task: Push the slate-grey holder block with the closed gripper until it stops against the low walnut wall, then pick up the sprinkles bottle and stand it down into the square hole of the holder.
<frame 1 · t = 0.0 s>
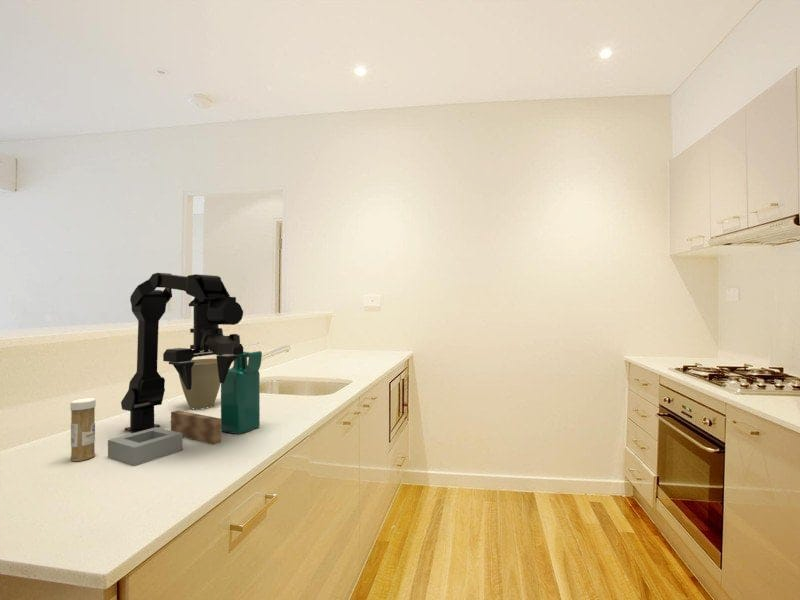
hand: (206, 386, 100), 15 cm above the table, tool pointing down, fingers open, 9 cm apart
holder block: (146, 453, 94), on the table
plant pot: (201, 407, 138), on the table
pitcher: (242, 430, 112), on the table
sprinkles bottle: (82, 459, 91), on the table
walnut wall: (195, 437, 105), on the table
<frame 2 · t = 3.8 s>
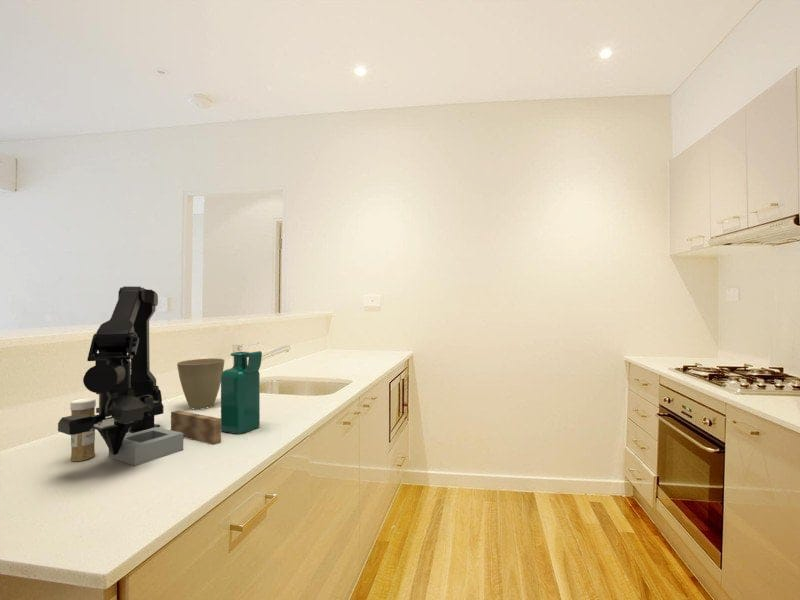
hand: (114, 454, 88), 2 cm above the table, tool pointing down, fingers closed
holder block: (146, 453, 94), on the table, touching gripper
everything else where it was.
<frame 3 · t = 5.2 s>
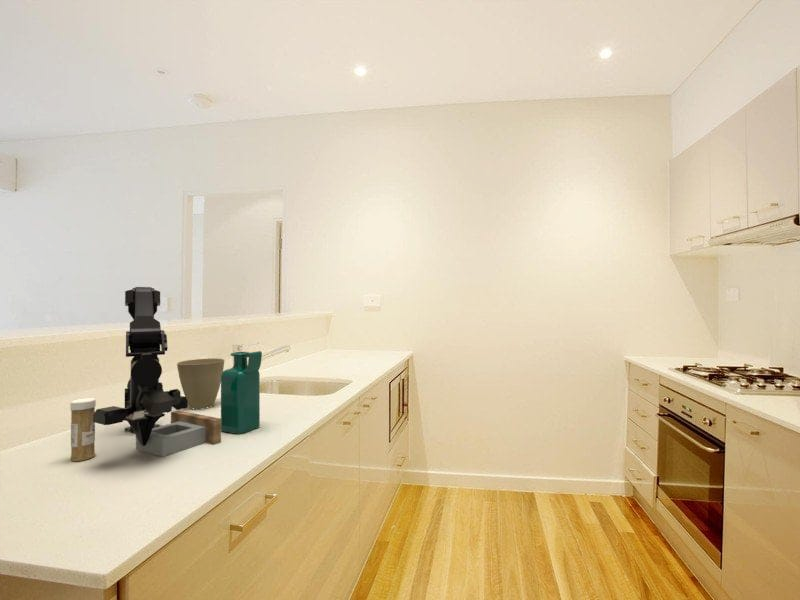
hand: (143, 445, 93), 2 cm above the table, tool pointing down, fingers closed
holder block: (171, 445, 99), on the table, touching gripper, walnut wall
everything else where it was.
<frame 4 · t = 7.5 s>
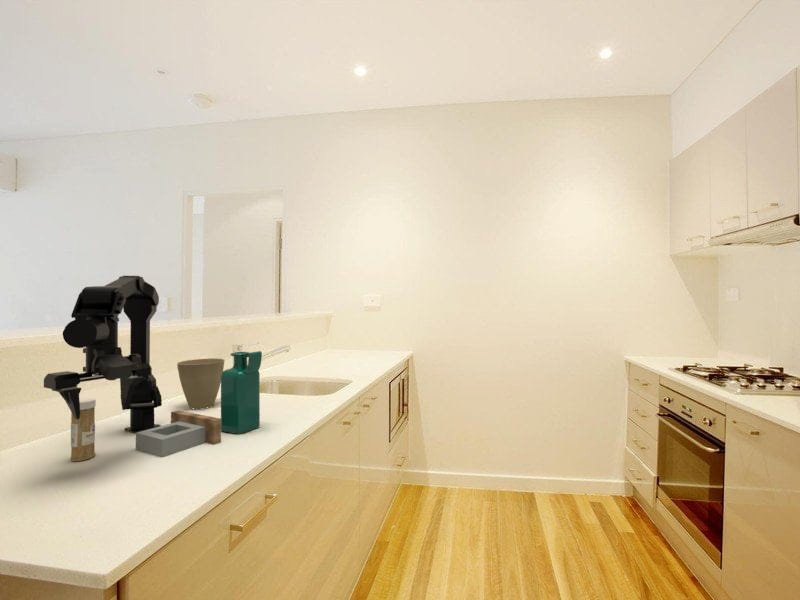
hand: (101, 413, 88), 11 cm above the table, tool pointing down, fingers open, 9 cm apart
holder block: (171, 445, 99), on the table
everything else where it was.
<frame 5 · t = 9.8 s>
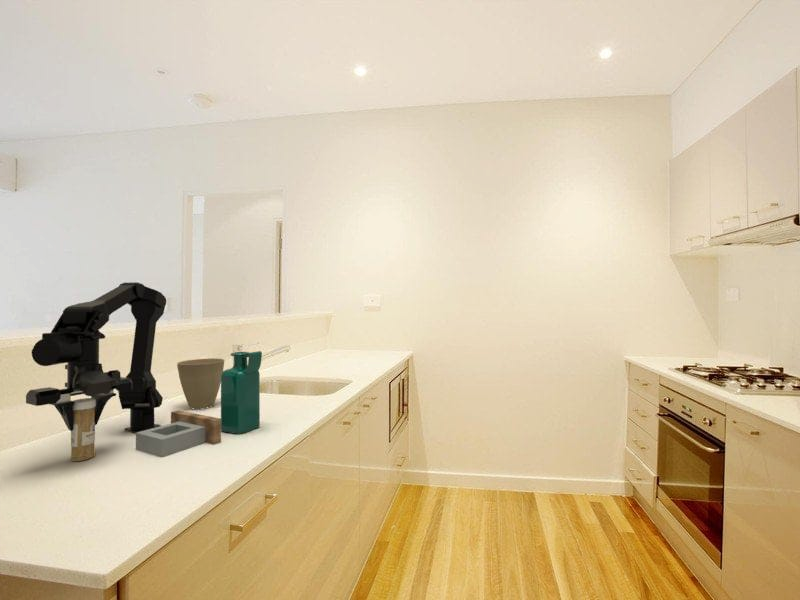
hand: (83, 427, 92), 7 cm above the table, tool pointing down, fingers closed on sprinkles bottle, 4 cm apart
sprinkles bottle: (82, 459, 91), on the table, touching gripper
everything else where it was.
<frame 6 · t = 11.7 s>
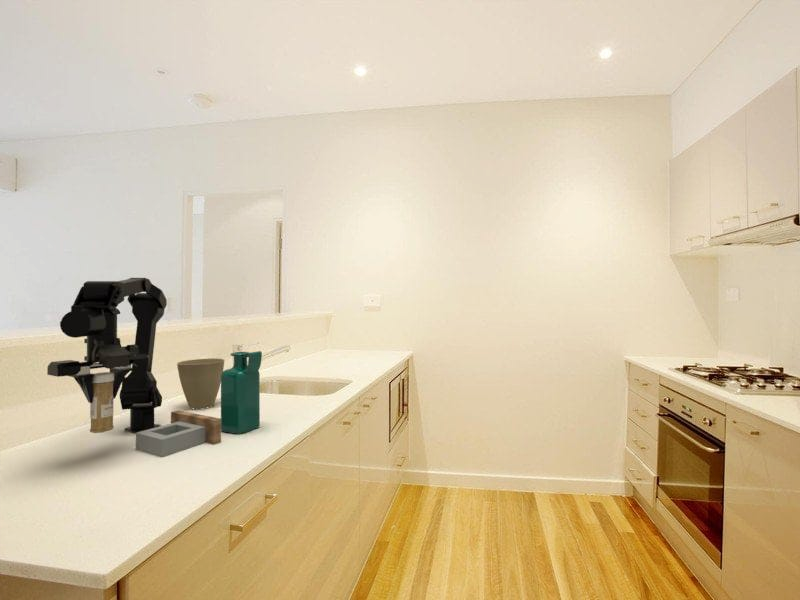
hand: (102, 400, 93), 13 cm above the table, tool pointing down, fingers closed on sprinkles bottle, 4 cm apart
sprinkles bottle: (101, 431, 93), point 6 cm above the table, touching gripper
everything else where it was.
when the fingers open (8 cm above the table, at t = 14.0 s): sprinkles bottle drops 1 cm, on the table.
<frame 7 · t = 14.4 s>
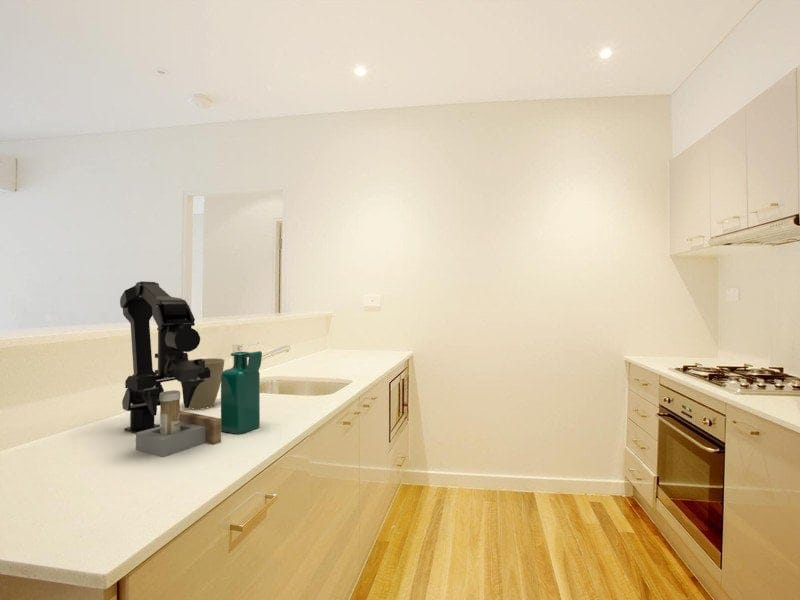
hand: (170, 411, 100), 8 cm above the table, tool pointing down, fingers open, 8 cm apart
sprinkles bottle: (170, 446, 99), on the table
everything else where it was.
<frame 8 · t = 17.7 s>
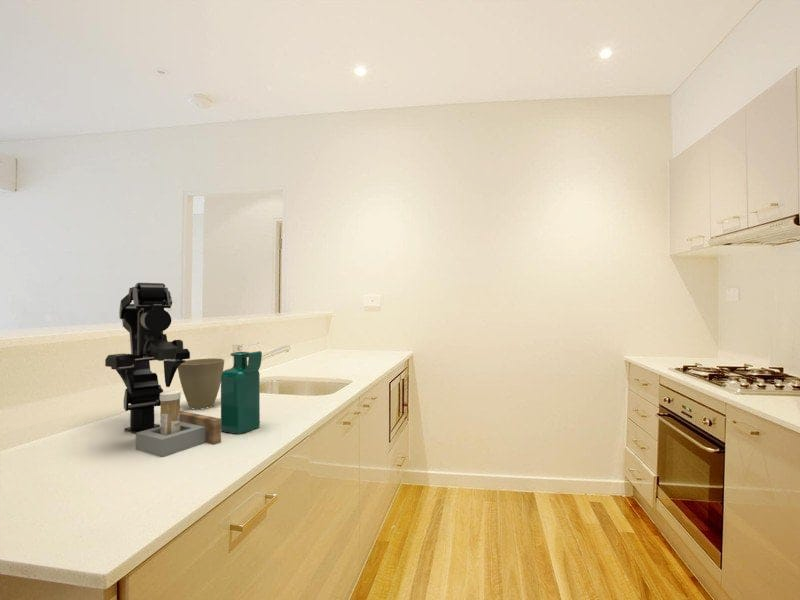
hand: (150, 390, 104), 13 cm above the table, tool pointing down, fingers open, 9 cm apart
nothing on the table moved.
at the end: sprinkles bottle 0.3 cm off-centre on the holder block, point 0.0 cm above the holder block's base; holder block 0.6 cm from the target spot, on the table; sprinkles bottle tilted 0° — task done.
